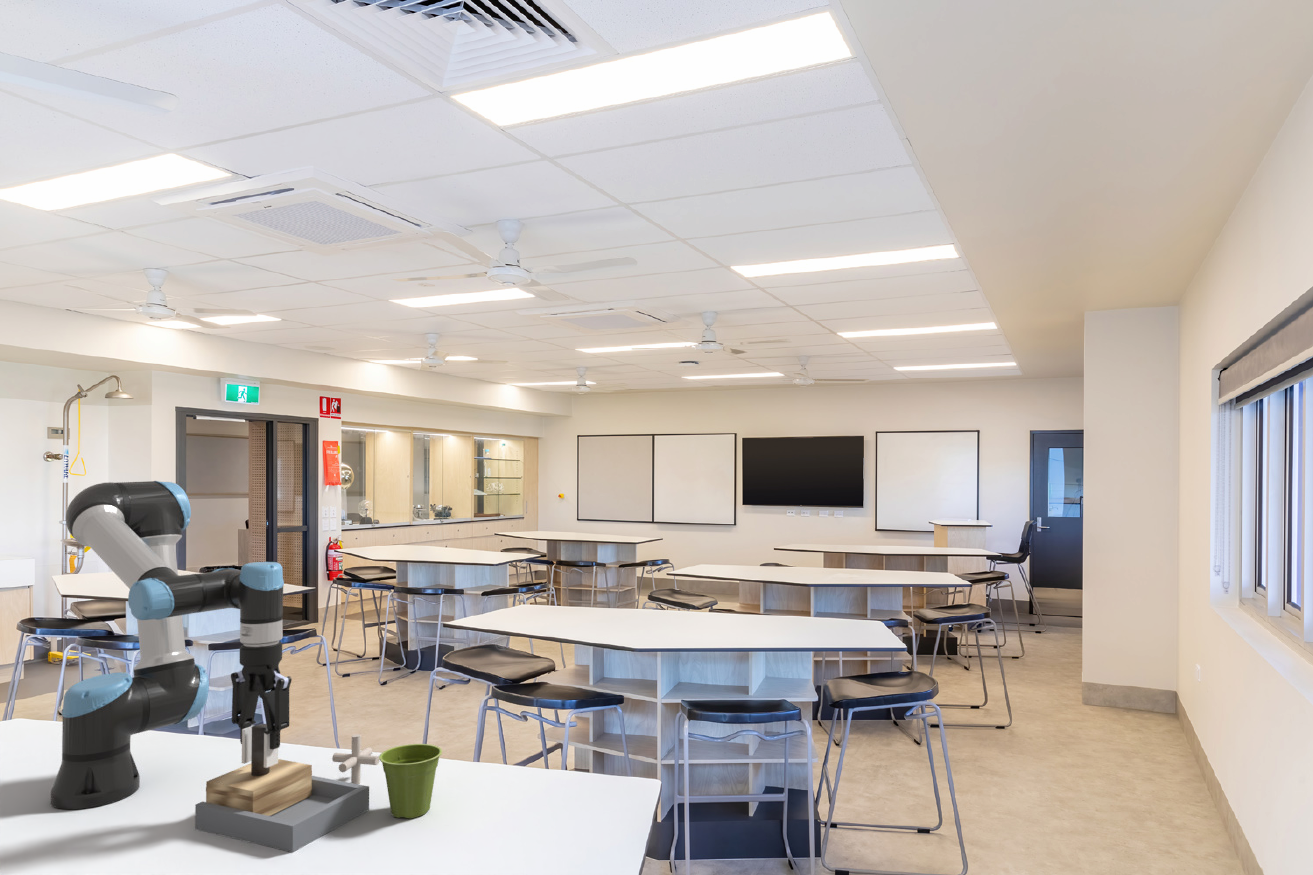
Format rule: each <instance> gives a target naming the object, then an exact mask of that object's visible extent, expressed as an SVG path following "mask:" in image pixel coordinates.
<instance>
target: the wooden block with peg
mask: <svg viewBox="0 0 1313 875" xmlns="http://www.w3.org/2000/svg"><path fill="white" fill-rule="evenodd" d="M253 725H254V726H253ZM253 725H252V726H253V727H252V755H251V761H250V762H251V763H249V764H246V765H244V766H243V765H242V766H241V767H238V768H236V769H234V770H231V771H229V772H226V773H224V774H221V775H218V776H216V777H214V778H212V779H209V780H206V782H205V784H206V785H205V786H206V787H205V793H206V794H205V795H206V796H205V802H207V803H212V804H217V805H221V806H226V807H230V808H235V809H239V810H244V811H248V812H253V813H257V814H262V815H267V816H271V815H273V814H275V813H277V812H279V811H281V810H283V809H285V808H287V807H289V806H291V805H293V804H295V803H297V802H299V801H301V800H303V799H305V798H307V797H309V796H311V790H312V776H313V768H312V764H308V763H302V762H296V761H291V760H285V759H281V758H278V763H277V764H275V765H272V766H270V767H268V768H265V767H264V733H265V731H268V730H267V724H266V723H259V724H253Z"/></svg>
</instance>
